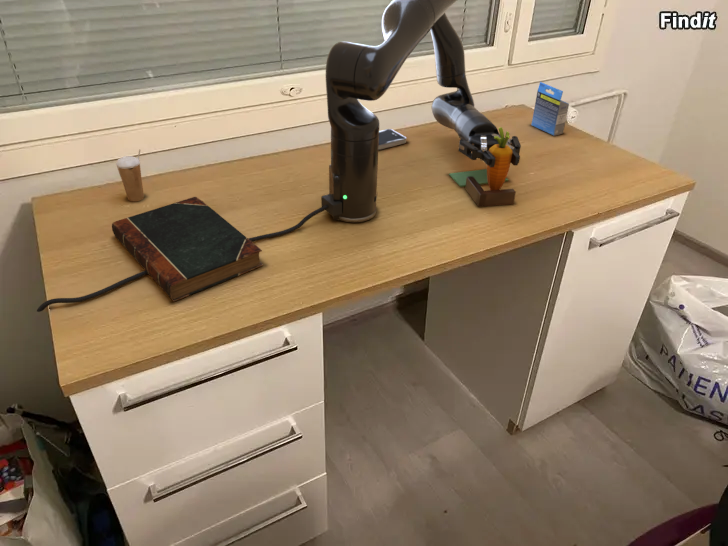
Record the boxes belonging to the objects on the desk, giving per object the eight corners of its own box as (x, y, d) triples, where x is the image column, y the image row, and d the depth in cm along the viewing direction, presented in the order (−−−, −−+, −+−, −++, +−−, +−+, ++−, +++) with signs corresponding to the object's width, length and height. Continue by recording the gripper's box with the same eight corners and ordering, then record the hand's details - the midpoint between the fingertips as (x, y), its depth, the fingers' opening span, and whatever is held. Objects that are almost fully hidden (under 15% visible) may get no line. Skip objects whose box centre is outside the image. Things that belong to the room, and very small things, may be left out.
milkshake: (154, 196, 124) (145, 152, 118) (131, 205, 121) (121, 160, 115) (143, 189, 126) (134, 146, 121) (120, 197, 123) (109, 153, 117)
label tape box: (563, 133, 159) (574, 88, 152) (552, 136, 157) (562, 91, 150) (540, 123, 165) (549, 79, 158) (529, 125, 163) (538, 81, 156)
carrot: (504, 201, 126) (516, 135, 118) (481, 198, 127) (491, 133, 118) (505, 190, 130) (516, 126, 122) (482, 188, 131) (492, 124, 122)
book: (264, 266, 104) (199, 211, 120) (262, 249, 102) (196, 195, 117) (171, 303, 95) (114, 238, 110) (168, 285, 93) (110, 221, 108)
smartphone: (342, 139, 148) (390, 128, 155) (342, 144, 149) (390, 133, 156) (358, 150, 143) (407, 138, 150) (358, 155, 144) (407, 143, 151)
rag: (460, 187, 131) (460, 185, 131) (448, 175, 136) (449, 173, 136) (508, 181, 134) (508, 179, 134) (495, 169, 139) (495, 168, 139)
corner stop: (478, 206, 124) (480, 194, 122) (465, 188, 131) (466, 176, 129) (513, 204, 126) (515, 191, 124) (498, 186, 132) (500, 174, 130)
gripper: (448, 117, 131) (475, 147, 118) (507, 113, 134) (540, 143, 120) (444, 148, 136) (470, 181, 122) (502, 144, 138) (533, 176, 125)
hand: (505, 162), depth 121 cm, fingers closed on carrot, 4 cm apart
